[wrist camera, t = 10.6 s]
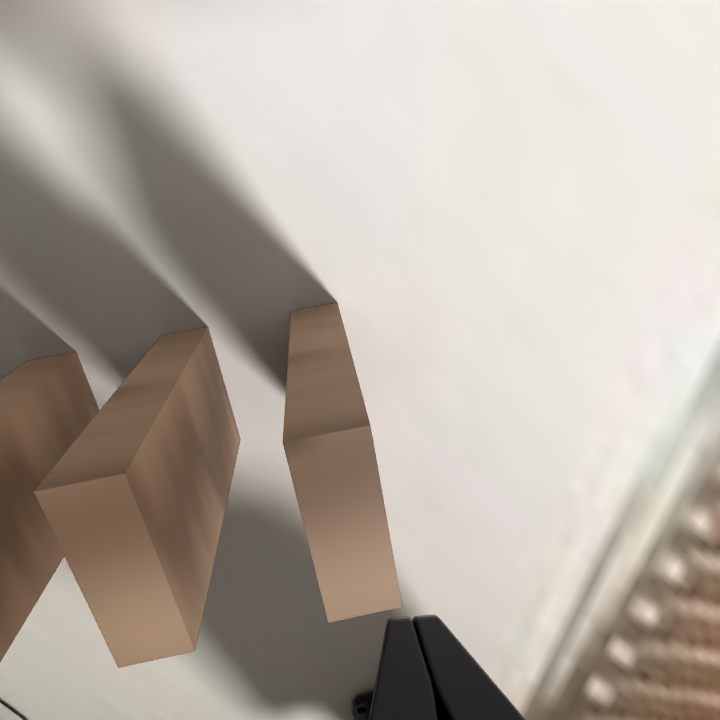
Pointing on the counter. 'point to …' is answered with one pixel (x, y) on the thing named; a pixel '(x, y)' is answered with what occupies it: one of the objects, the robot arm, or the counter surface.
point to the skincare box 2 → (7, 714)
